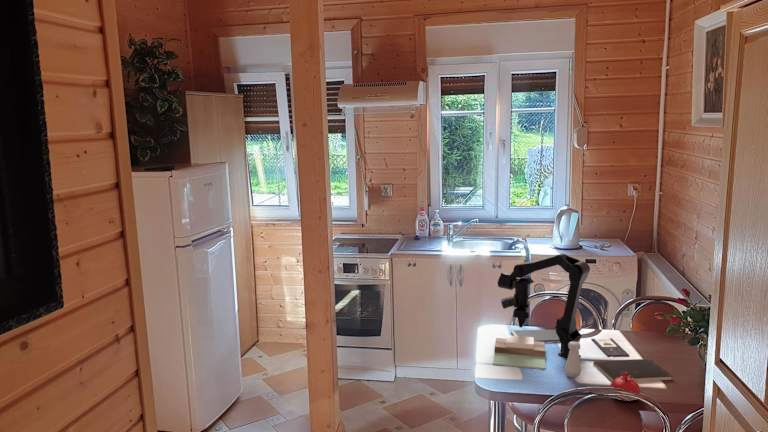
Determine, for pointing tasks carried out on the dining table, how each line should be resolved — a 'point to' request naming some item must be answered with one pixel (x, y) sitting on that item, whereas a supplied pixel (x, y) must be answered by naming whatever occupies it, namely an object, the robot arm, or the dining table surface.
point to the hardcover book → (633, 369)
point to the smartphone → (538, 335)
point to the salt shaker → (573, 360)
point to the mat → (519, 360)
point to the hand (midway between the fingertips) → (520, 327)
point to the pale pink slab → (520, 342)
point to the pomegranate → (626, 383)
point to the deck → (537, 351)
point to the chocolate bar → (610, 347)
